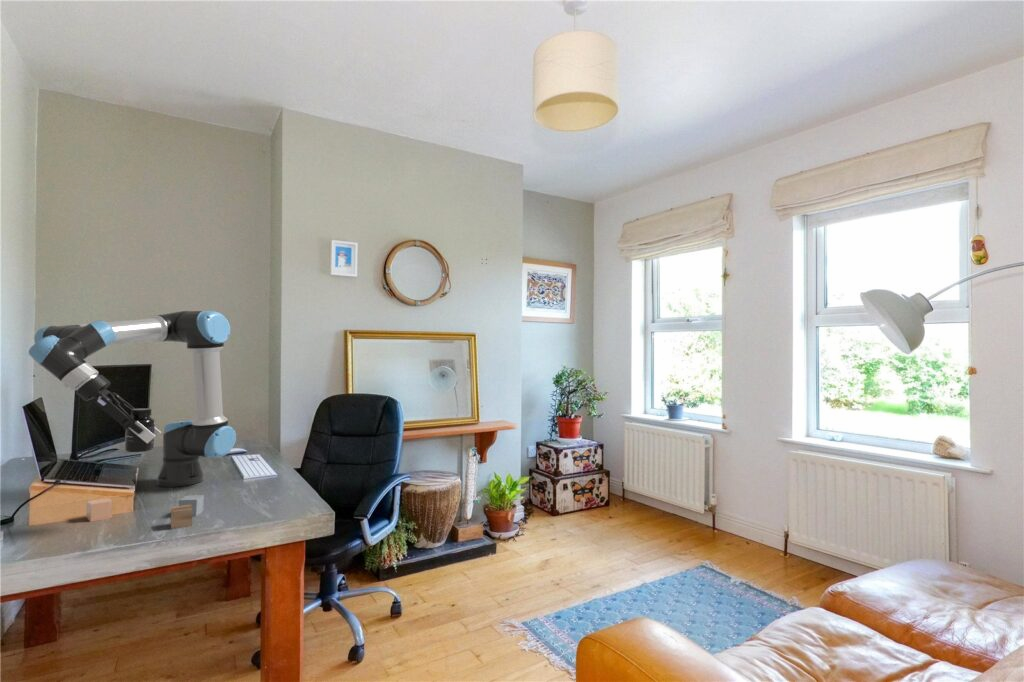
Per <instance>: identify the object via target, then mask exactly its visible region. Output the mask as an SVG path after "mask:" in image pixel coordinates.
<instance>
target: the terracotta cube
mask: <svg viewBox="0 0 1024 682" xmlns="http://www.w3.org/2000/svg"><path fill="white" fill-rule="evenodd" d="M112 517H113V500H112V499H110V498H109V497H106V498H105V499H104V498H100V499H99V498H98V499H93V500H88V501H87V502H86V519H87V520H88V521H89V522H96V521H102V520H107V519H108V520H109V519H111V518H112Z"/></svg>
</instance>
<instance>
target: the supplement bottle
mask: <svg viewBox="0 0 1024 682" xmlns="http://www.w3.org/2000/svg"><path fill="white" fill-rule="evenodd" d="M131 416H132V418H133V419H134V420H135V421H138V422H139V423H141V424H142V425H143V426H144V427H146V428H147V429H148V430H149V431H150V432H152V433H153V434H154V427H155V428H156V426H155V425H156V423H155V421H156V420H155V419H154V418H152V417H151V416H152V408H148V407H147V408H146V407H145V408H135V409H132V410H131ZM124 436H125V438H124V451H125V452H127V453H143V452H149V451H153V449H154V442H155V440H154V439H155V438H153V439H152V440H151V441H150V442H149V443H146V442H145V441H144V440H142V439H141V438H140V437H139V436H137V435H136V434H135V433H134V432H132V431H131V430H130V429H129V428H127V429H126V430H125V435H124Z"/></svg>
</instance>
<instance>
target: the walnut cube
mask: <svg viewBox="0 0 1024 682" xmlns="http://www.w3.org/2000/svg"><path fill="white" fill-rule="evenodd" d="M192 512H193V509H192V505H184V506H179V505H178V506H171V507H170V530H176V529H177V530H178V529H182V528H183V527H184V528H190V527H189V526H191V527H193V516H192ZM184 528H183V529H184Z"/></svg>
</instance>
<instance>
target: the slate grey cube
mask: <svg viewBox="0 0 1024 682" xmlns="http://www.w3.org/2000/svg"><path fill="white" fill-rule="evenodd" d="M204 499H205V495H204V494H202V495H201V494H200V495H199V494H198V495H197V494H196V495H193V494H192V495H185V496H184V497H183V496H182V498H179V499H178V506H184V505H192V509H193V512H192V517H197V516H199V515H200V514H201V513H202V511H203V512H204V501H205V500H204Z"/></svg>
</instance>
